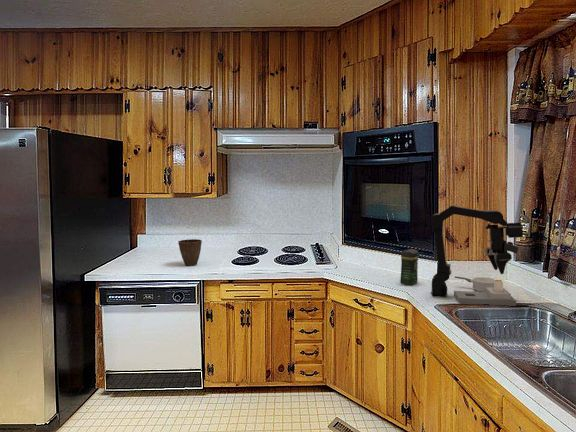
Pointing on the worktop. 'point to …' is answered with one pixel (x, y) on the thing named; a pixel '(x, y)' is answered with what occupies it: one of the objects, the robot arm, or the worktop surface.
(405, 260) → the coffee jar
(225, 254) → the worktop surface
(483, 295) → the jack panel
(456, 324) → the worktop surface
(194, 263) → the plant pot
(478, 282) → the saucepan
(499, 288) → the plug
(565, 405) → the worktop surface
